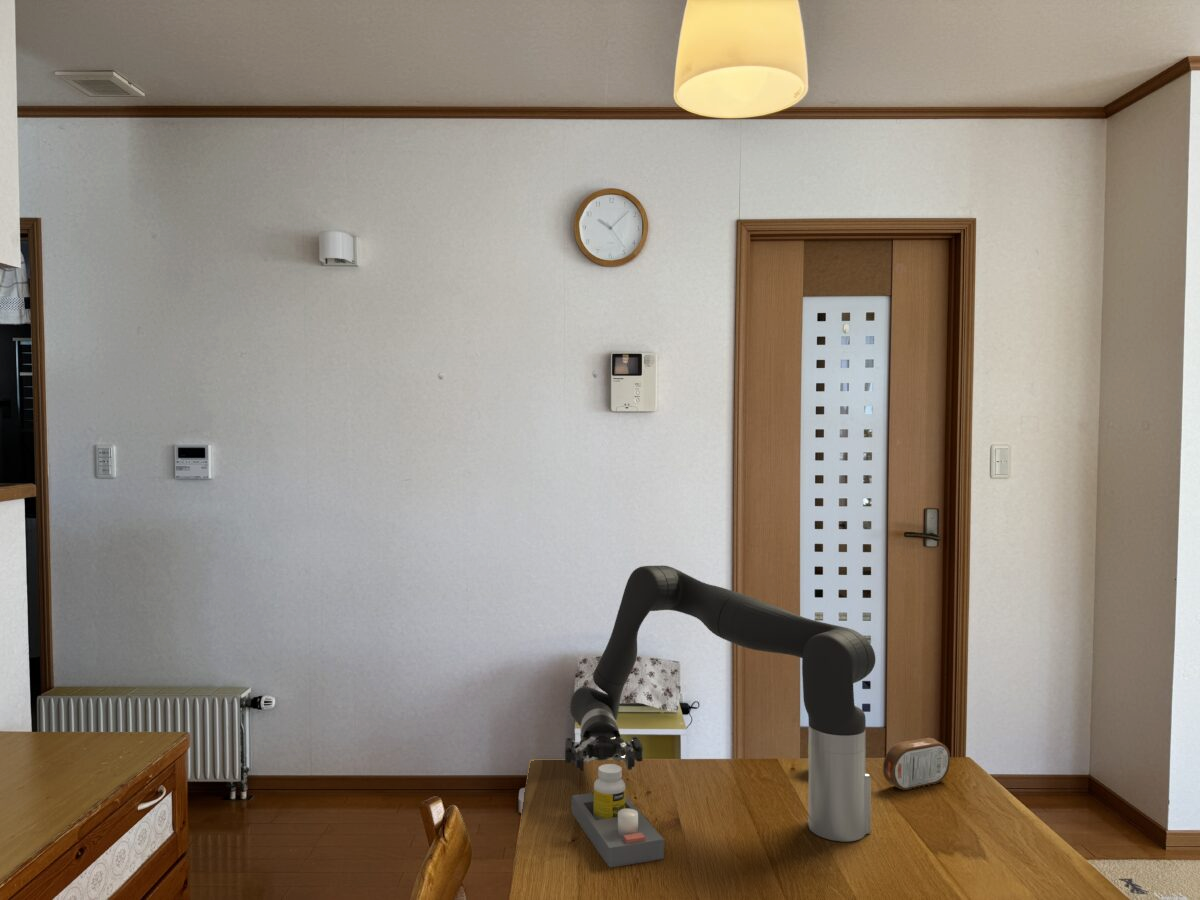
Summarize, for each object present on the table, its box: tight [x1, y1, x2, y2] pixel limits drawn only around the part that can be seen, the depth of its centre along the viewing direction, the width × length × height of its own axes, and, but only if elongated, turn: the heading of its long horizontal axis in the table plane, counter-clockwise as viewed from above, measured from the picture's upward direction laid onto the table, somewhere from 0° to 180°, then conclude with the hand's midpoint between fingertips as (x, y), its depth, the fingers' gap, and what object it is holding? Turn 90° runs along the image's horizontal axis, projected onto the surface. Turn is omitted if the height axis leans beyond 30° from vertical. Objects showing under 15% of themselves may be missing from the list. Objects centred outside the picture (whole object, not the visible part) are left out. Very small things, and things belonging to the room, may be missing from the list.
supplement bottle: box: [593, 763, 627, 820], centre depth 135 cm, size 5×5×10 cm
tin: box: [882, 737, 951, 791], centre depth 152 cm, size 15×3×8 cm, turn 114°
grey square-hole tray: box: [571, 792, 665, 869], centre depth 132 cm, size 9×20×6 cm, turn 19°
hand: (606, 764), depth 141 cm, fingers open, 8 cm apart
